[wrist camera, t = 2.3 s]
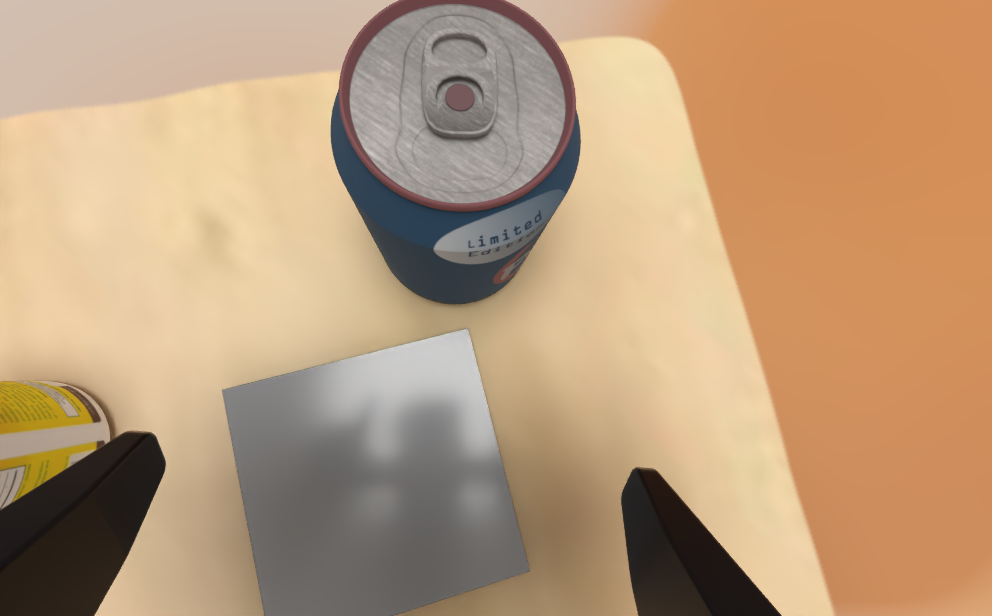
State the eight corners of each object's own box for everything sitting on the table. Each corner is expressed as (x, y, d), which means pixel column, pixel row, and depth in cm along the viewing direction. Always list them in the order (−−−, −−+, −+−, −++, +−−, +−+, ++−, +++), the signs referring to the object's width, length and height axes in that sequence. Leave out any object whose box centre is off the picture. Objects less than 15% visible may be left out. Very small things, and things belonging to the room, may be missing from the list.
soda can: (526, 308, 23) (607, 234, 11) (381, 308, 22) (305, 231, 11) (522, 172, 24) (593, -26, 12) (383, 169, 23) (316, -45, 12)
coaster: (527, 565, 21) (530, 571, 21) (277, 646, 20) (272, 655, 19) (467, 329, 23) (468, 328, 22) (228, 389, 21) (221, 390, 21)
